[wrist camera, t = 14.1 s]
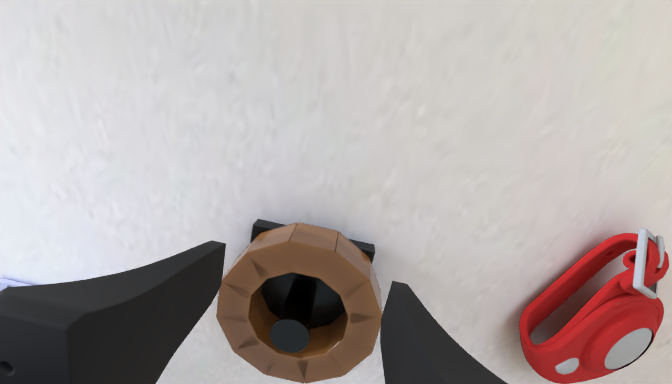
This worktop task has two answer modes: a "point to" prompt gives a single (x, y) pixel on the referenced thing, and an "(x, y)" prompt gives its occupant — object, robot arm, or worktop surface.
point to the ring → (325, 342)
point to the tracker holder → (600, 312)
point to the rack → (300, 300)
